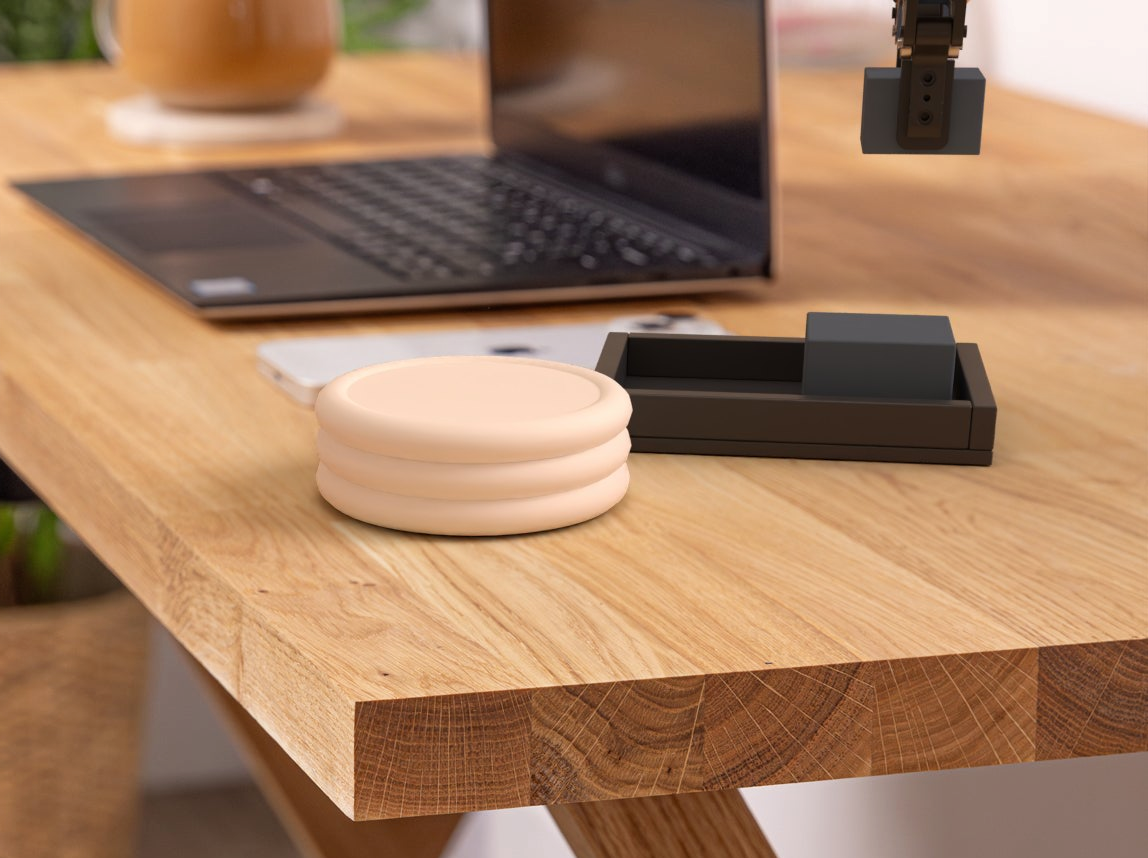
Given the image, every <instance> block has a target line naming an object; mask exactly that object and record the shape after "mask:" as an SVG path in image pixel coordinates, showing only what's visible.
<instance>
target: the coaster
mask: <svg viewBox="0 0 1148 858" xmlns="http://www.w3.org/2000/svg"><path fill="white" fill-rule="evenodd" d="M313 410H314V414H315V418H316V420H317V423H318V425H319V427H318V430H317V434H316V438H315V441H314V445H315V446H314V447H315V450H316V453H317V456H318V459H319V460H320V461H319V462H318V467H317V470H316V474H315V482H316V485H317V488H318V491H319V493H320V495H321V497H322V498H323V499H324V500H326V501H327V503H329V504H330V505H331V506H332V507H334V508H335V509H336V510H338V511H339V512H341V514H344V515H346V516H348V517H350V518H352V519H355V520H358V521H361V522H363V523H368V524H369V525H370V524H371V525H374V526H378V527H381V528H388V529H393V530H397V531H404V532H411V533H417V534H419V533H421V534H429V535H443V536H470V537H472V536H474V537H475V536H476V537H477V536H503V535H504V536H505V535H506V536H507V535H518V534H527V533H535V532H542V531H550V530H555V529H560V528H564V527H565V528H566V527H568V526H569V527H570V526H572V525H576V524H580V523H583V522H586V521H589V520H592V519H594V518H596V517H599V516H600V515H602V514H604V513H606V512H608V511H609V510H610V509H612V508H613V507H614V506H615V505H617V504H618V503H619V502H620V501H621V500H622V499H623V498H624V497H625V496H626V494H627V490H628V487H629V485H630V481H631V476H630V471H629V468H628V463H627V460H628V458H629V454H630V452H631V451H630V448H631V441H630V437H629V433H628V430H627V428H626V427H627V425H628V423H629V420H630V417H631V414H632V411H633V410H632V405H631V401H630V397H629V395H628V393H627V392H626V390H624V389H623V388H622V387H621V386H620V385H619V384H618V383H617V382H616V381H614V380H613V379H611V378H609V377H608V376H606V375H604V374H601V373H599V372H596V371H595V370H594V369H593V370H592V369H590V368H587V367H582V366H579V365H574V364H568V363H564V362H559V361H553V360H546V359H538V358H529V357H519V356H506V355H476V354H475V355H472V354H470V355H441V356H428V357H427V356H426V357H416V358H408V359H407V358H406V359H400V360H393V361H388V362H382V363H376V364H372V365H368V366H364V367H359V368H356V369H353V370H351V371H347V372H344V373H343V374H341V375H339V376H336V377H335V378H333V379H332V380H331V381H329V382H328V383H327V384H325V386H324V387H322V389H320V391H319V392H318V393H317V396H316V399H315V403H314V408H313Z"/></svg>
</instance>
